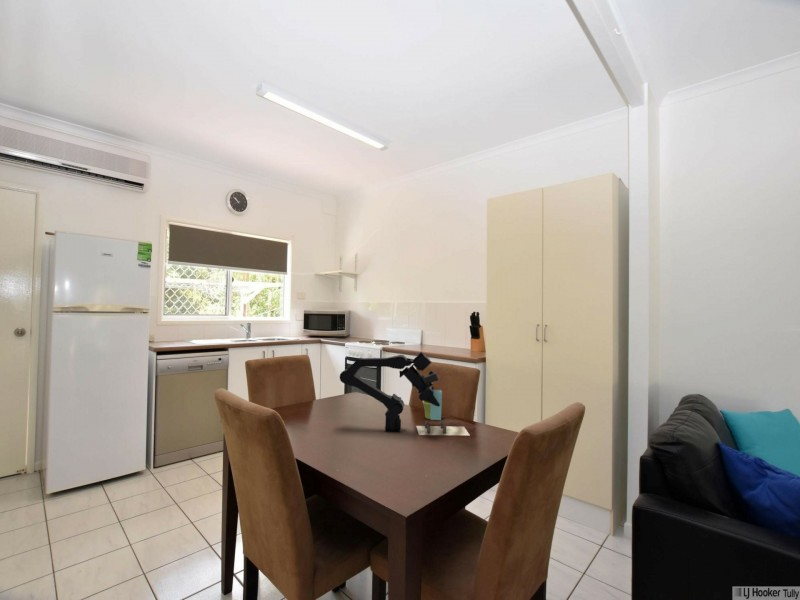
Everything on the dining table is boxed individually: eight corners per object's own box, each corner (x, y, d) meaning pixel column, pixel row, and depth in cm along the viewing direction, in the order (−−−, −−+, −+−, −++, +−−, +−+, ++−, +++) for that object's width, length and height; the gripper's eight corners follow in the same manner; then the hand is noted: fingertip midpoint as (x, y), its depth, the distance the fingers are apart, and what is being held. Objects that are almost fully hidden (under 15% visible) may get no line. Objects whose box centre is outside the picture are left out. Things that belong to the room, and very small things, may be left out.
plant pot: (418, 417, 188) (419, 400, 188) (435, 416, 192) (435, 399, 192) (427, 423, 179) (428, 404, 179) (444, 421, 183) (445, 403, 183)
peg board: (418, 437, 159) (419, 427, 159) (416, 428, 171) (416, 419, 171) (470, 437, 160) (470, 428, 160) (463, 428, 172) (464, 420, 172)
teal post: (430, 419, 163) (431, 392, 164) (430, 416, 168) (431, 389, 168) (441, 420, 163) (442, 392, 164) (440, 417, 168) (440, 390, 168)
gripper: (427, 369, 157) (453, 397, 156) (429, 363, 176) (452, 388, 174) (408, 386, 158) (433, 415, 156) (411, 378, 176) (434, 404, 175)
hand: (439, 404), depth 166 cm, fingers closed on teal post, 5 cm apart
